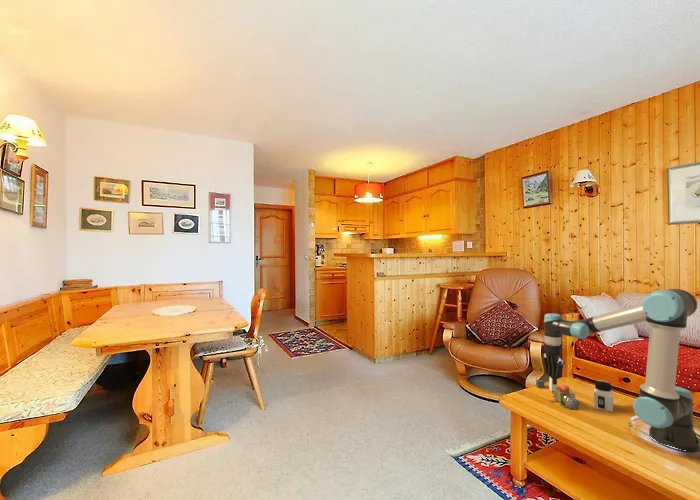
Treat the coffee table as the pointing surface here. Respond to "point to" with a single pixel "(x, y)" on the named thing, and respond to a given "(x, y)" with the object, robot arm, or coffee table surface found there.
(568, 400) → the valve pipe
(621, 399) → the coffee table surface
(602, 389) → the container
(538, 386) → the lever
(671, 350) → the robot arm
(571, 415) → the coffee table surface
